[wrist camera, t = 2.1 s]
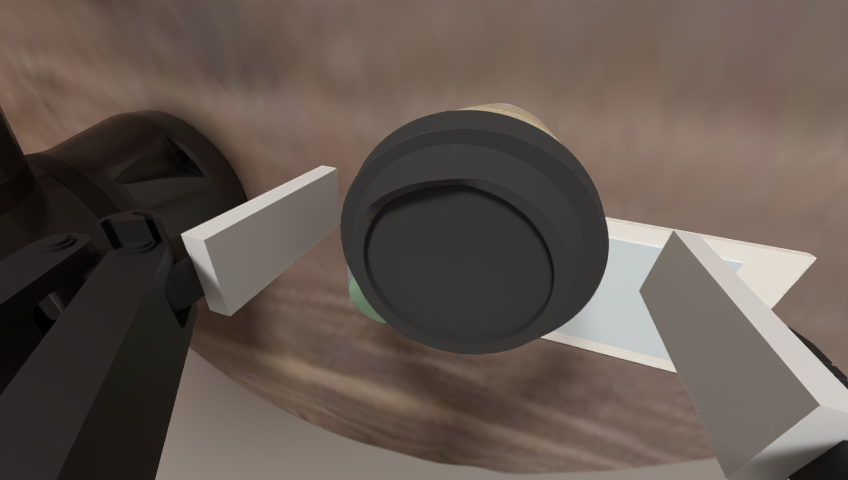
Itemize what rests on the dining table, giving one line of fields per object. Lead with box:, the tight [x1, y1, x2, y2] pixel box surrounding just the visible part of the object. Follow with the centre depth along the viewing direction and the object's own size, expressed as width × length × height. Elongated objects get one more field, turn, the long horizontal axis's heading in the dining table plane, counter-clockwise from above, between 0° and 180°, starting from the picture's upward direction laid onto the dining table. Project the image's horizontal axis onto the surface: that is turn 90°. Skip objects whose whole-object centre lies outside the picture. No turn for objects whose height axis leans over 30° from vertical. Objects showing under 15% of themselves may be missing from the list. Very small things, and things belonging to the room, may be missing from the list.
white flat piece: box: [541, 217, 816, 373], centre depth 23 cm, size 14×12×1 cm
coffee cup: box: [341, 103, 609, 354], centre depth 15 cm, size 9×9×15 cm
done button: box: [349, 277, 387, 323], centre depth 25 cm, size 5×5×4 cm
